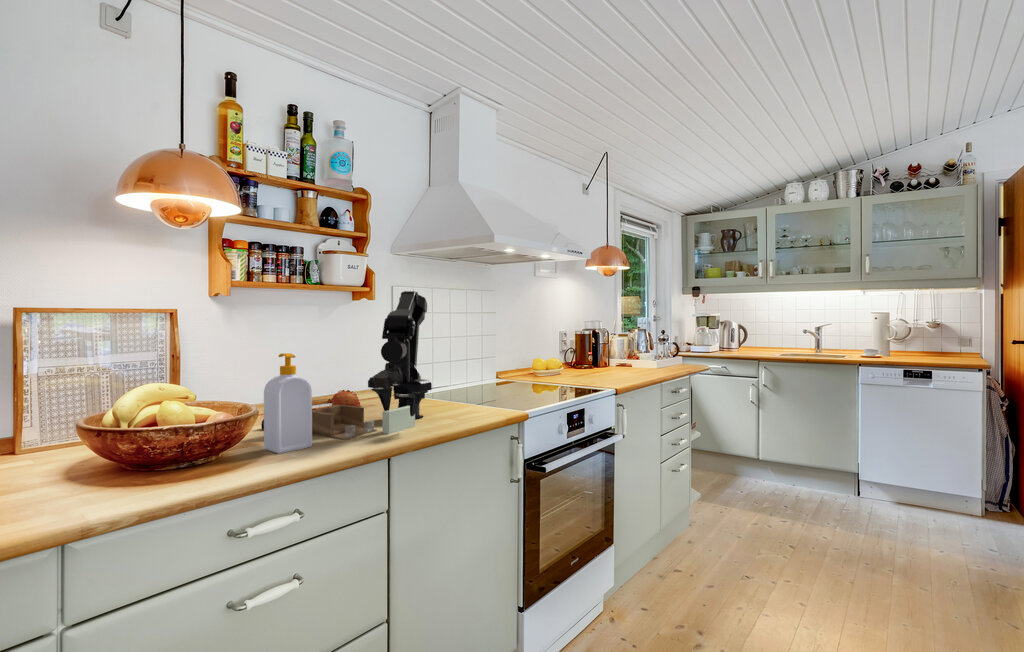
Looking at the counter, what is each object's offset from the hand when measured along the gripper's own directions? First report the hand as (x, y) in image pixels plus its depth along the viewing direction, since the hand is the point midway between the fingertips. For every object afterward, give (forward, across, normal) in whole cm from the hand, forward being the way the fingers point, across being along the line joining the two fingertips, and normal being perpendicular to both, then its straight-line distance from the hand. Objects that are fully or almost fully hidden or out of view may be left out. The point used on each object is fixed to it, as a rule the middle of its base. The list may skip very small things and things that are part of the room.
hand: (399, 414), depth 149 cm
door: (+4, 0, 0) cm, 4 cm away
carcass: (+4, -11, -10) cm, 16 cm away
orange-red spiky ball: (+5, -27, +6) cm, 28 cm away
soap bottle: (+4, -10, -29) cm, 31 cm away
